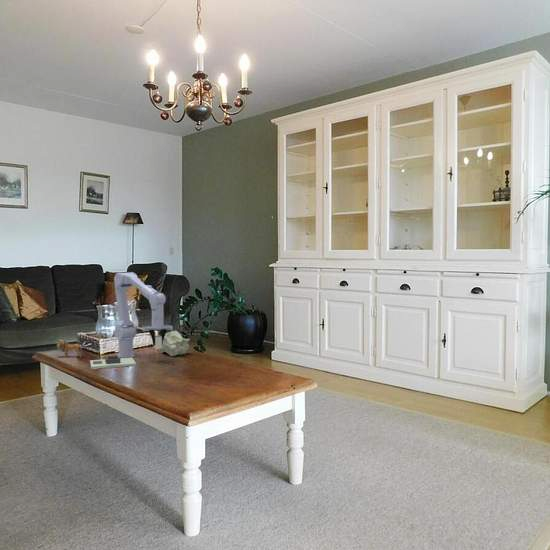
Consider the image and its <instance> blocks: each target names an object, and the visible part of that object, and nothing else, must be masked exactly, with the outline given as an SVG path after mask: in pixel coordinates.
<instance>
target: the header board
mask: <svg viewBox="0 0 550 550" xmlns="http://www.w3.org/2000/svg"><path fill="white" fill-rule="evenodd" d="M89 362H90V363H89V364H90V369H91V370H98V369H99V368H102V369H113V368H114V367H115V368H124V367H123V366H128V367H136V366H137V363H136V361H135V359H134V358H133V357H123V358H120V357H119V356H118V355H111V356H109V355H108V356H105V357H104V359H103V358H102V359H93V360H91V359H90V360H89Z"/></svg>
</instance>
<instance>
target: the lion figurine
mask: <svg viewBox="0 0 550 550" xmlns="http://www.w3.org/2000/svg"><path fill="white" fill-rule="evenodd" d="M56 347H57V349H58V350H60V351H61V352H63V353H64V356H63V358H67V357H68V356H69V352H76V353H77V354H76V357H78V358H79V357H80V358H82V355H83V356H84V357H86V356H87V355H86V354H84V352H83V349H82V346H81V345H80V344H77V343H75V344H71V343H70V342H68V341H66V340H64V339H59V340H57V342H56ZM80 351H81V352H80Z"/></svg>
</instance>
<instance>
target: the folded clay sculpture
mask: <svg viewBox="0 0 550 550" xmlns="http://www.w3.org/2000/svg"><path fill="white" fill-rule="evenodd" d="M190 340H191V339H190V338H184V337H183V336H182V334H181V333H180V332H178V331H177V330H171V331H170V332H166V334H165V337H164V339H163V344H162V349H160V350H161V352H162V353H163V352H166V353H167V354H168V355H169V356H171V357H177V356H178V355H182V356H183V354H184V355H186V353H187V351H188V350H189V349H190V345H189V344H188V342H190ZM166 353H165V354H166ZM176 355H177V356H176Z"/></svg>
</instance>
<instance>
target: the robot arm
mask: <svg viewBox="0 0 550 550" xmlns="http://www.w3.org/2000/svg"><path fill="white" fill-rule="evenodd" d="M113 280H114V290H115V291H114V292H115V298H116V305H117V306H116V307H117V314H118V321H119V322H117V324H115V331H114V334H115V338H116V339H117V341H118V353H117V354H116V356H119V357H120V358H131V357H132V358H133V357H135V354H134V339H135V337H136V336H137V329H136V327H135V323H134V322H133V321H132V320H131V317H130V310H129V309H130V308H129V302H128V296H127V295H128V293H127V291H128V289H129V288H131V286H134V287H135V288H137V289H138V290H140V291H141V292H140V293H141V295H142V296H143V297H144V298H146V299H147V300H148V301H149V304H150V309H151V326H149V325H148V326H142V332H148V334H149V335H150V338H151V341H152V345H153V346H154V345H155V335H156V332H155V331H159V332H160V336H161V337H162V344H163V339H164V337H165V334H166V333H168V332H167V331H174V329H173V325H164V305H165V303H166V302H167V297H166V295H165V294H164V293H163V292H161V293H160V292H158V290H156V289H154V288H153V286H152V285H149V284H145V283H144V282H143V281H142V280H141V279H140V278H139V277H138V275H137V274H136V273H135V272H133V271H131V272H117V273H116V274H115V275H114V277H113Z"/></svg>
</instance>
